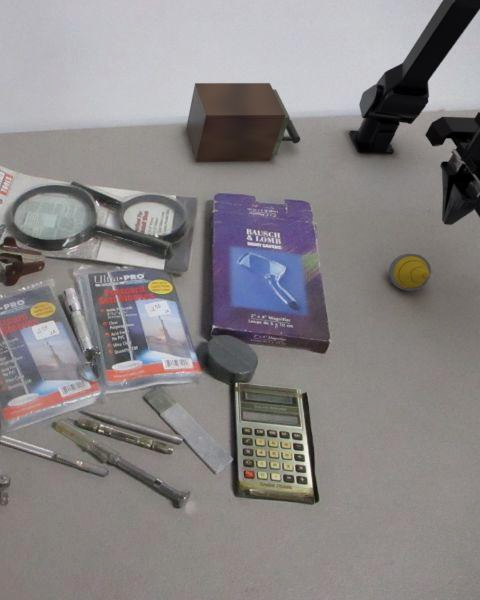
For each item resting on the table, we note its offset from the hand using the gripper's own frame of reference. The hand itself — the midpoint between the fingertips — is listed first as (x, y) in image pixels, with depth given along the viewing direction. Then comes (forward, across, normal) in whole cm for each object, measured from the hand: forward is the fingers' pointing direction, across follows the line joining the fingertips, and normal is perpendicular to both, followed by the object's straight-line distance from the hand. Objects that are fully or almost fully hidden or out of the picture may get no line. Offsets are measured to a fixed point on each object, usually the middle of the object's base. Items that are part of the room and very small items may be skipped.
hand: (446, 222), depth 77 cm
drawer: (+11, +34, +17) cm, 40 cm away
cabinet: (+12, +34, +21) cm, 41 cm away
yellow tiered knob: (+13, 0, 0) cm, 13 cm away
